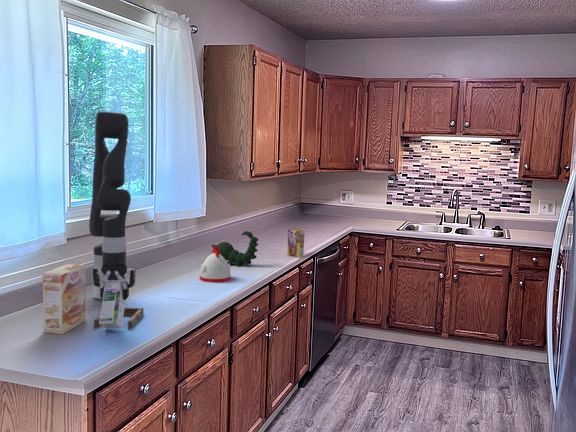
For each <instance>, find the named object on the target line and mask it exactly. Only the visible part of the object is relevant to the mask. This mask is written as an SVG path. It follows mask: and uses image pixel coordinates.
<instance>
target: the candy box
mask: <svg viewBox="0 0 576 432" xmlns="http://www.w3.org/2000/svg"><path fill="white" fill-rule="evenodd" d="M305 234H306V233H305V229H303V228H297V227H289V228H287V250H286V251H287V254H286V255H287V256H289V255H290V256H289V257H294V256H295V257H294V258H304V255H305V253H304V252H305Z"/></svg>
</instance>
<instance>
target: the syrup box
mask: <svg viewBox="0 0 576 432" xmlns="http://www.w3.org/2000/svg"><path fill="white" fill-rule="evenodd" d="M123 289H124V288H123V286H122V284H121V283H120V281H118V282H106V283H105V286H104V293H103V299H102V303H101V309H100V314H101V316H100V321H99V324H100V326H101V327H102V328H104V329H109V330H110V329H120V328H121V329H122V328H123V323H124V316H125V315H124V308H125V307H126V300H123Z"/></svg>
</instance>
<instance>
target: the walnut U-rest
mask: <svg viewBox="0 0 576 432" xmlns="http://www.w3.org/2000/svg"><path fill="white" fill-rule="evenodd" d="M100 316H101V313H100V314H99V315H98V316H97V317H95V319H93V328H99V327H100V326H101V325H100V324H99V321H100ZM124 316H131V317H130V318H129V319H128V321H127V329H129V330H132V329H133V328H134V326H136V324H137V323H138V322H139V321H140V320H141V319H142V317H143V316H144V308H143V307H126V306H125V308H124Z"/></svg>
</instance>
